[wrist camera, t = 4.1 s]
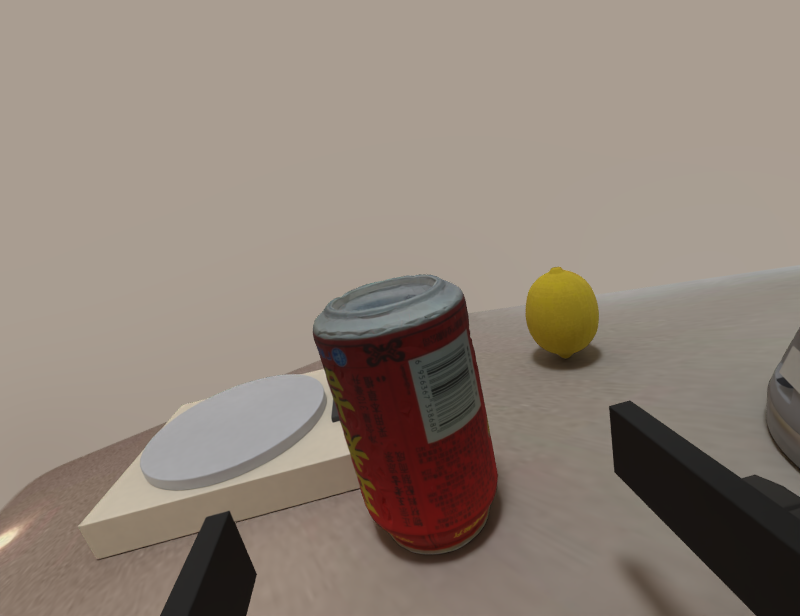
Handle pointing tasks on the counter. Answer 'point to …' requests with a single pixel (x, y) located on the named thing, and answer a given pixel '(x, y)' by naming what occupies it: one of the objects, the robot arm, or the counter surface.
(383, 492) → the soda can
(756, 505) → the robot arm
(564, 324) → the lemon
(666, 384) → the counter surface
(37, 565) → the counter surface
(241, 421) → the kitchen scale
